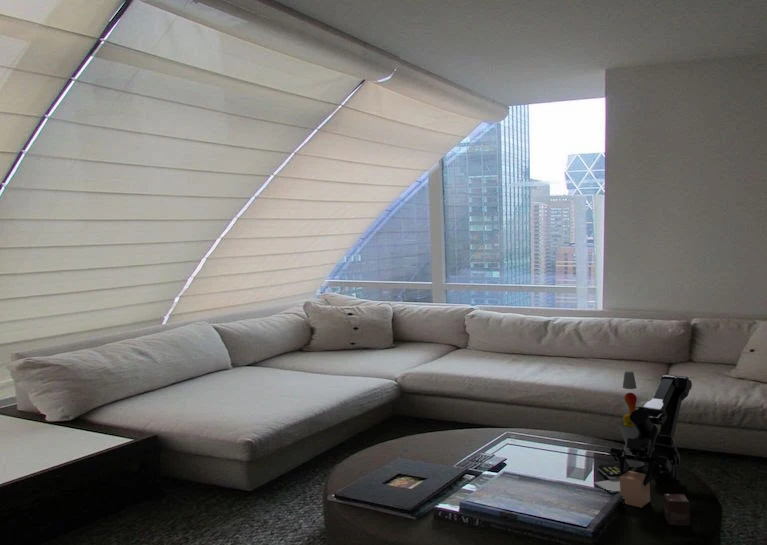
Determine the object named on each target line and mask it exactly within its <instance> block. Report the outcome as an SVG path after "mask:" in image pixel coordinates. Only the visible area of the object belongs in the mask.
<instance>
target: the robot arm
mask: <svg viewBox="0 0 767 545" xmlns="http://www.w3.org/2000/svg"><path fill="white" fill-rule="evenodd" d="M660 380H661V381H660V383H659V385H658V387H657V389H656V391H655V393H654V395H653V398H652V399H651V400H649V401H647V402H645V404H644V405H643V406H639V407H638V408H637V409H635V411H633V412H632V413H631V414H630V413H629V414H630V420H631V422H632V423H633V425H634V427H635V428H636V430H637V431H638V435H637V438H636V437H635V438H634V439H633V438H628V439H627V445H626V448H630V449H629V451H630V452H632V454H628V453H625V451H624V448H622V447H621V448H620V447H616V446H612V447H611V448H610V449H609V452H608V454H609V455H610V457H611V458H612V460H613V462H615V463H619V464H618V465H619V468H620V471H621V476H622V475H623V474H625V473H626V472H628V471H629V464H628V463H627V461H628V460H632V461H638V462H643V463H644V464H647V470H646V473H645V474H646V476H645V478H644V482H643V485H644V486H646V485H647V484H648V483H649V482H651V481H652V480H653V479H656V480H658V481H659V482H662V483H663V484H664V483H666V484H667V483H671V482H677V481H680V478H678V477H677V465H680V464H681V455H680V453H679V451H678V448H677V447H678V446H677V443H676V441H675V433H676V428H677V425H678V424H677V423H678V420H679V419H678V418H679V416H680V415H679V414H680V410H681V405H682V402H683V401H684V400H685V399H686V398H687V397H688V396H689V394H690V390H692V386H693V383H692V380H691V379H689V376H685V375H683V376H682V375H681V376H680V375H672V374H670V375H669V374H664V375H662V376H661V378H660ZM656 425H657V426H658V425H660V428H659V429H658V427H657V426H656Z"/></svg>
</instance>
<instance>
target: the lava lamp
mask: <svg viewBox="0 0 767 545" xmlns="http://www.w3.org/2000/svg"><path fill="white" fill-rule="evenodd" d="M622 388H623V389H625V390H626V389H627V390H636V389H637V384H636V377H635V373H634V371H633V370H626V371H625V372H624V375H623V382H622ZM624 401H625V404H626V405H627V407H628V411H629V413H626V414H624V415H623V418H622V419H623V421H619V422H618V427H619V430H620V433H621V435H622V438H623V440H624V443H625V444H624V447H623V449H624V451H625V453H628V454H632V452H630V451H629V449H630V448H626V445H627V439H628V438H633V439H634V438H635V437H636V438H637V435H638V431H637V430H636V428H635V427H634V425H633V423H632V422H631V420H630V414H631V413H632V412H633V411H635V410H636V404H637V396H636V394H635V393H633V392H627V393H625V395H624ZM627 463H628V464H629V467H630V468H641V467H643V466H645V463H643V462H638V461H632V460H628V461H627Z"/></svg>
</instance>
